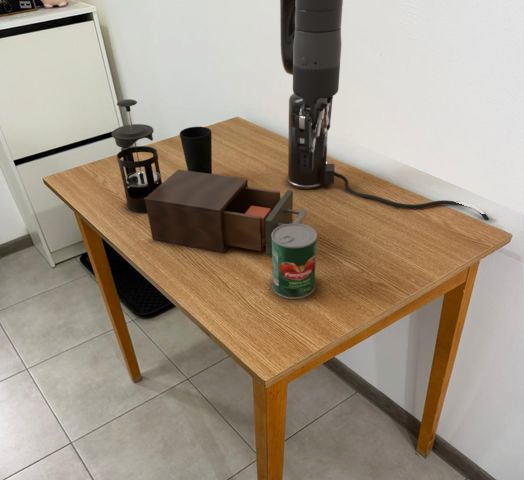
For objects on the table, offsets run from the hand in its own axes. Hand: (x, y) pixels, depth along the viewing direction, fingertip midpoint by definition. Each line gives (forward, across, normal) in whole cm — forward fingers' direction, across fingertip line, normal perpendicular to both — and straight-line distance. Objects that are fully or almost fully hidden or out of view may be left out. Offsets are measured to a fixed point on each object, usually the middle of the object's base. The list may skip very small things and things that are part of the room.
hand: (312, 164), depth 92 cm
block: (+16, 0, +11) cm, 19 cm away
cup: (+18, +22, +36) cm, 46 cm away
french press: (+18, +7, +43) cm, 47 cm away
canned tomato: (+18, -13, -1) cm, 23 cm away
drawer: (+17, 0, +12) cm, 20 cm away
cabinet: (+18, 0, +24) cm, 30 cm away
